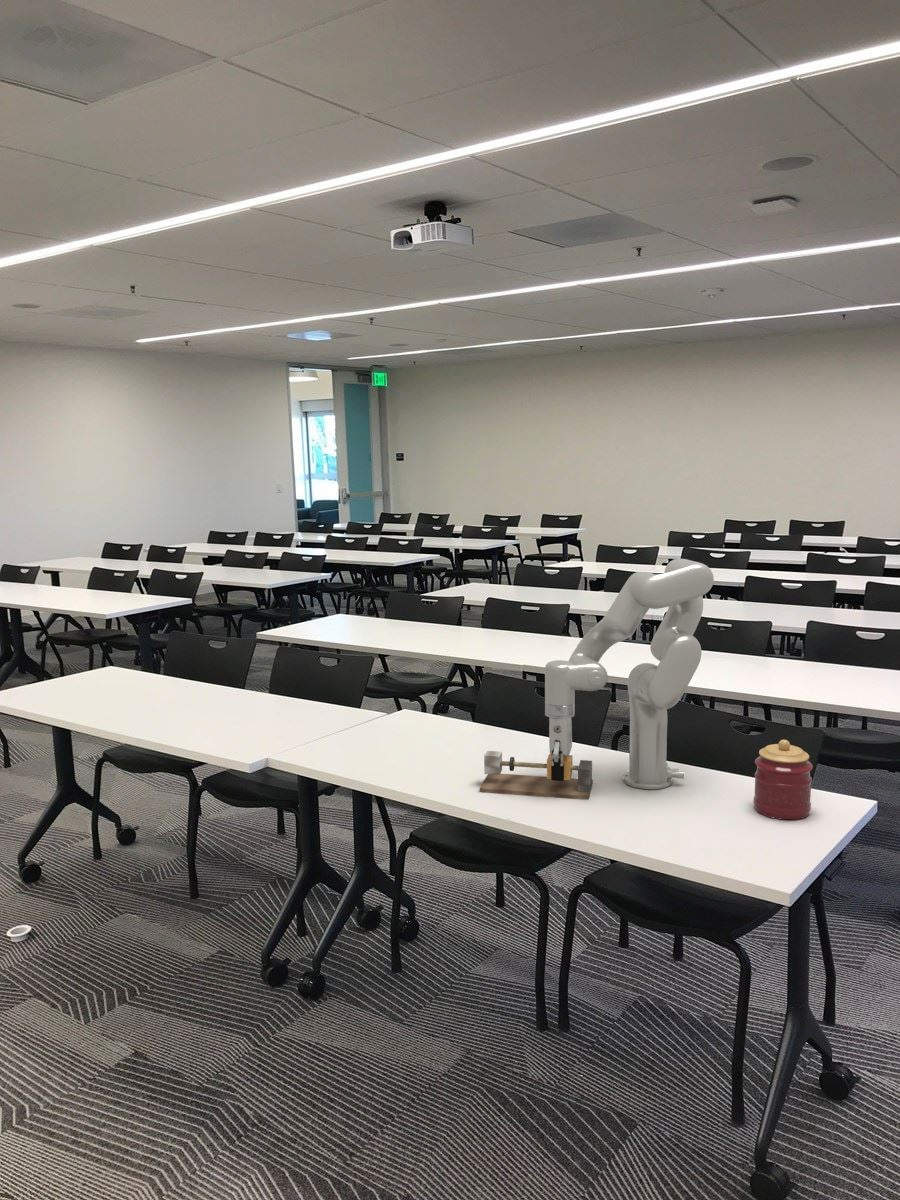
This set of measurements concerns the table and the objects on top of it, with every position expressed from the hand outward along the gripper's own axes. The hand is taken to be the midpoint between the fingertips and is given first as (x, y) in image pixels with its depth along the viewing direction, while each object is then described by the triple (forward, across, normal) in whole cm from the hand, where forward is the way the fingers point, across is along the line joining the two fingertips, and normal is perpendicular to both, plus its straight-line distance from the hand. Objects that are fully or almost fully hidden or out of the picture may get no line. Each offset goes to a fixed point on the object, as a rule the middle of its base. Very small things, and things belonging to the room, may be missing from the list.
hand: (559, 774), depth 233 cm
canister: (+4, -4, -54) cm, 54 cm away
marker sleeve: (0, 0, 0) cm, 0 cm away
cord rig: (+4, 0, +6) cm, 7 cm away
